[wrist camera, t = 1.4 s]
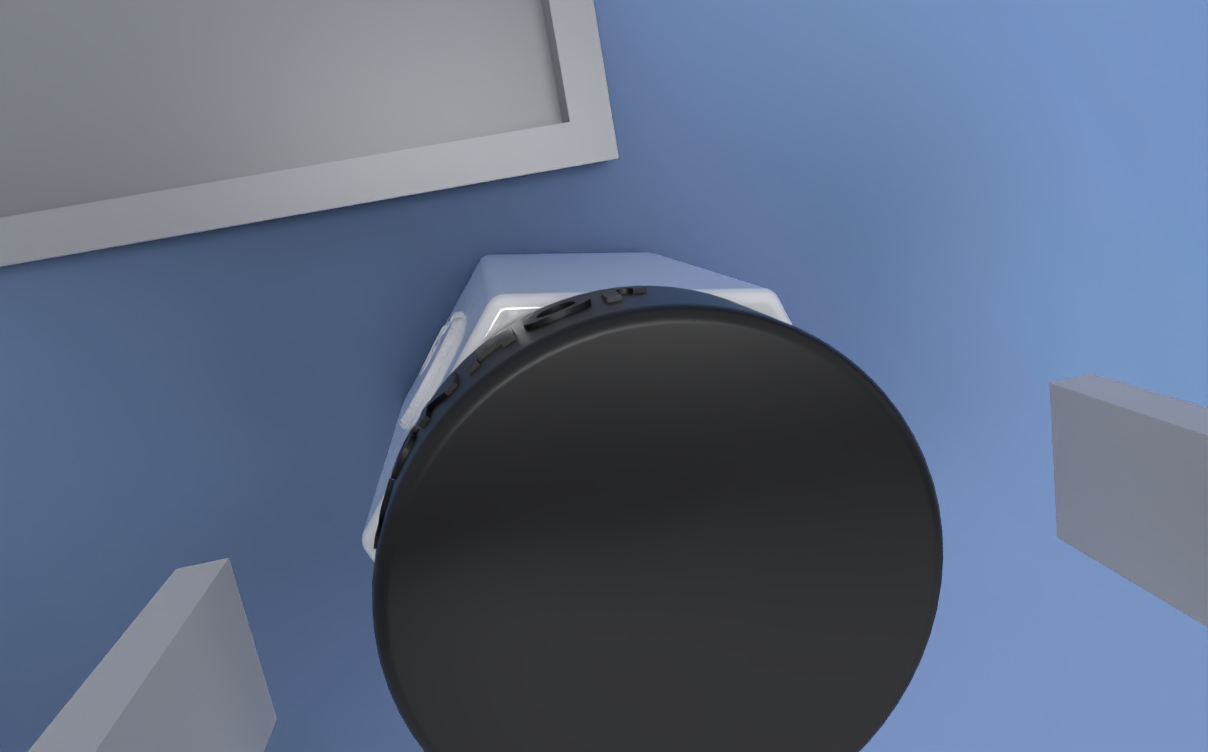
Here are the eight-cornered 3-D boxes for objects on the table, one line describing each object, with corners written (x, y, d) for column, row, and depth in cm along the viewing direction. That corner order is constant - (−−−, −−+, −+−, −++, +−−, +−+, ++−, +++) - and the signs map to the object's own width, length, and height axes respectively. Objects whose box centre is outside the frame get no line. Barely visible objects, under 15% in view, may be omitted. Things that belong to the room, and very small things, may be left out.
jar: (516, 174, 22) (573, 150, 10) (774, 323, 24) (1070, 447, 12) (356, 472, 23) (239, 762, 11) (616, 593, 25) (750, 948, 13)
